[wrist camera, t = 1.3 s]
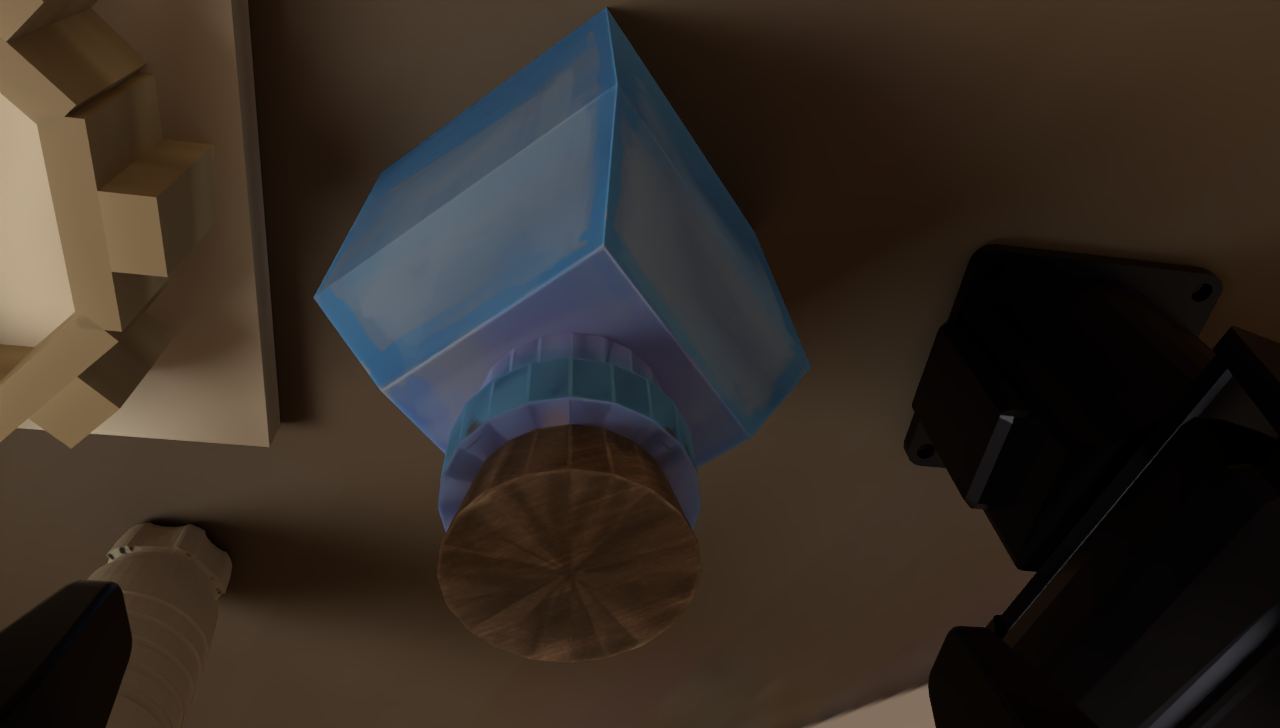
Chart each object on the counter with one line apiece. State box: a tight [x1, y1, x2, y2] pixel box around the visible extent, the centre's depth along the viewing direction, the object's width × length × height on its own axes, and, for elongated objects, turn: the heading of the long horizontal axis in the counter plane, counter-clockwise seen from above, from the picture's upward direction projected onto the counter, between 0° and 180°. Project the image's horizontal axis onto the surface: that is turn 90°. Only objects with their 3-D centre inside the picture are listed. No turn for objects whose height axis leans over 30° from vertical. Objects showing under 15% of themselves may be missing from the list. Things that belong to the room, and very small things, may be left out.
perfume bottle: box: [314, 7, 811, 663], centre depth 16 cm, size 6×6×12 cm
